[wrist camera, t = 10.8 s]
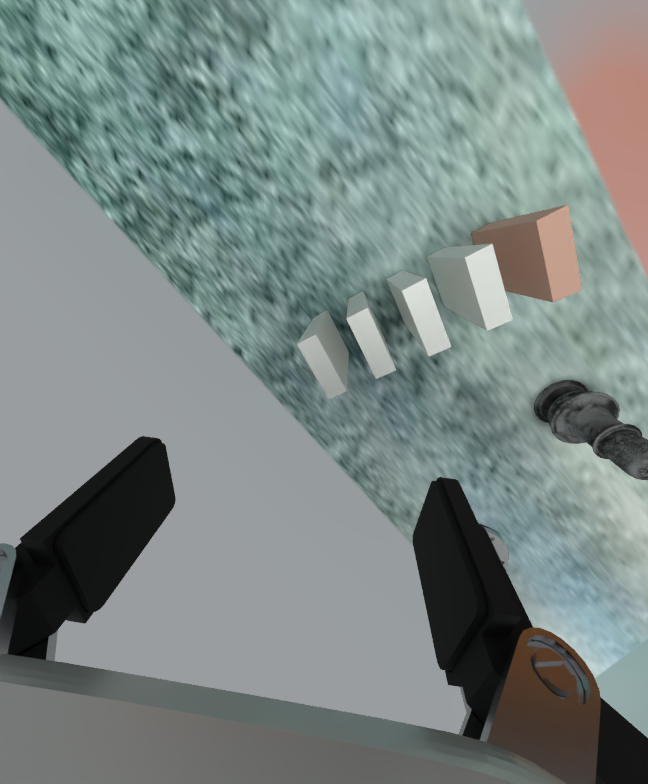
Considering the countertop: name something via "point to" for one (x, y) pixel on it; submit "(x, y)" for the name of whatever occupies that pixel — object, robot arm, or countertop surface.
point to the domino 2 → (369, 335)
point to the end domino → (535, 253)
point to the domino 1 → (326, 354)
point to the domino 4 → (471, 284)
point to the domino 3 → (419, 311)
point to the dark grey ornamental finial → (593, 425)
